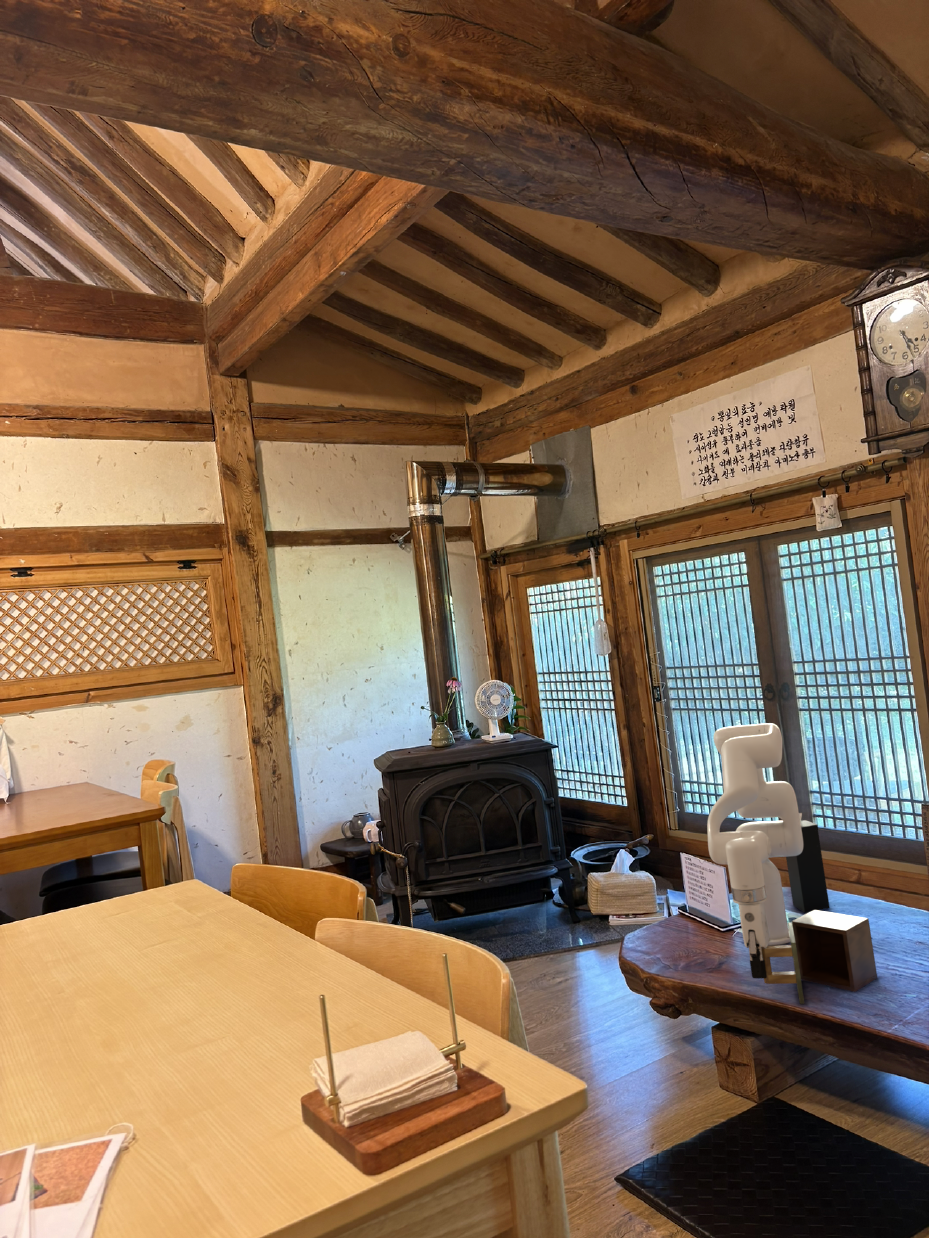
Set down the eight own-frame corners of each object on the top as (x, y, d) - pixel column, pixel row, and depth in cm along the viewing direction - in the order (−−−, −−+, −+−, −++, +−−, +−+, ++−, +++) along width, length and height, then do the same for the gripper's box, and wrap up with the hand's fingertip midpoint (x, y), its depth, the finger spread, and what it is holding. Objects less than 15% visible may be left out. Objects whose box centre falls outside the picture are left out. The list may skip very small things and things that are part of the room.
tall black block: (792, 905, 270) (779, 813, 271) (817, 901, 271) (803, 809, 272) (804, 913, 262) (790, 817, 263) (830, 908, 263) (816, 813, 264)
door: (767, 1004, 203) (758, 943, 204) (765, 980, 217) (757, 923, 217) (804, 1004, 201) (795, 942, 202) (800, 980, 214) (792, 922, 215)
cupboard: (855, 992, 204) (846, 930, 205) (800, 979, 215) (791, 921, 216) (877, 978, 210) (868, 918, 211) (822, 966, 221) (814, 909, 222)
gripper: (763, 904, 197) (775, 988, 197) (768, 882, 213) (779, 960, 212) (728, 905, 200) (740, 987, 199) (736, 883, 216) (747, 960, 215)
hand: (760, 972), depth 206 cm, fingers open, 4 cm apart
